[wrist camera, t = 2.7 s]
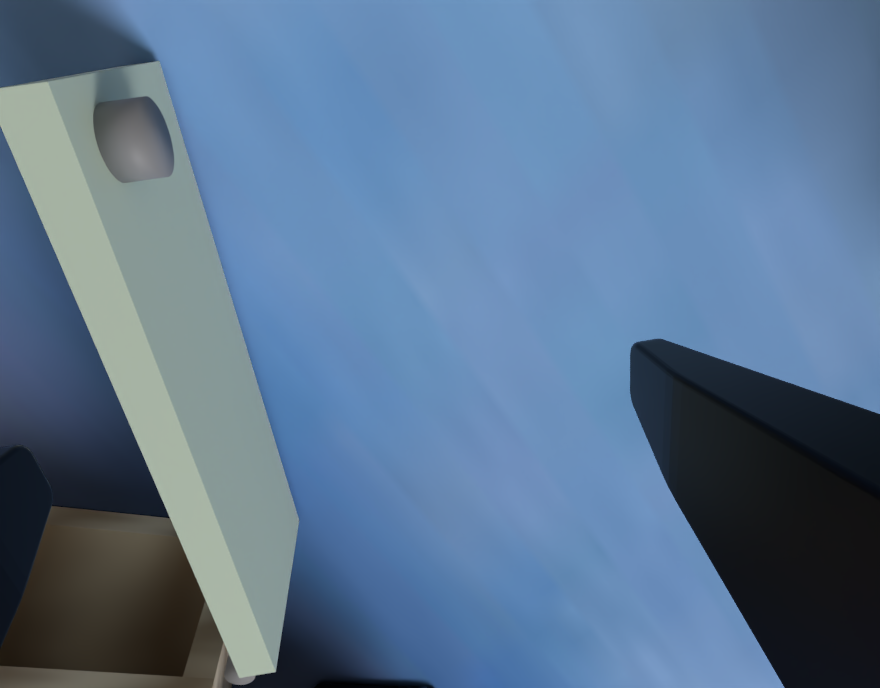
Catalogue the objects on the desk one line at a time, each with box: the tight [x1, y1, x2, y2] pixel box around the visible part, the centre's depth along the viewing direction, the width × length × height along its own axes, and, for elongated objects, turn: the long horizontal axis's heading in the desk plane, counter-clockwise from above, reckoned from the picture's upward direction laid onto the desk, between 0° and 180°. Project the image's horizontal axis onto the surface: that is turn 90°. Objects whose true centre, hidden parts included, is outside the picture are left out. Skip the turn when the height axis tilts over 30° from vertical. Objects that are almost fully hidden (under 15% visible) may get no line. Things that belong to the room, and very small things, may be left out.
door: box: [0, 61, 299, 685], centre depth 19 cm, size 18×3×7 cm, turn 7°
